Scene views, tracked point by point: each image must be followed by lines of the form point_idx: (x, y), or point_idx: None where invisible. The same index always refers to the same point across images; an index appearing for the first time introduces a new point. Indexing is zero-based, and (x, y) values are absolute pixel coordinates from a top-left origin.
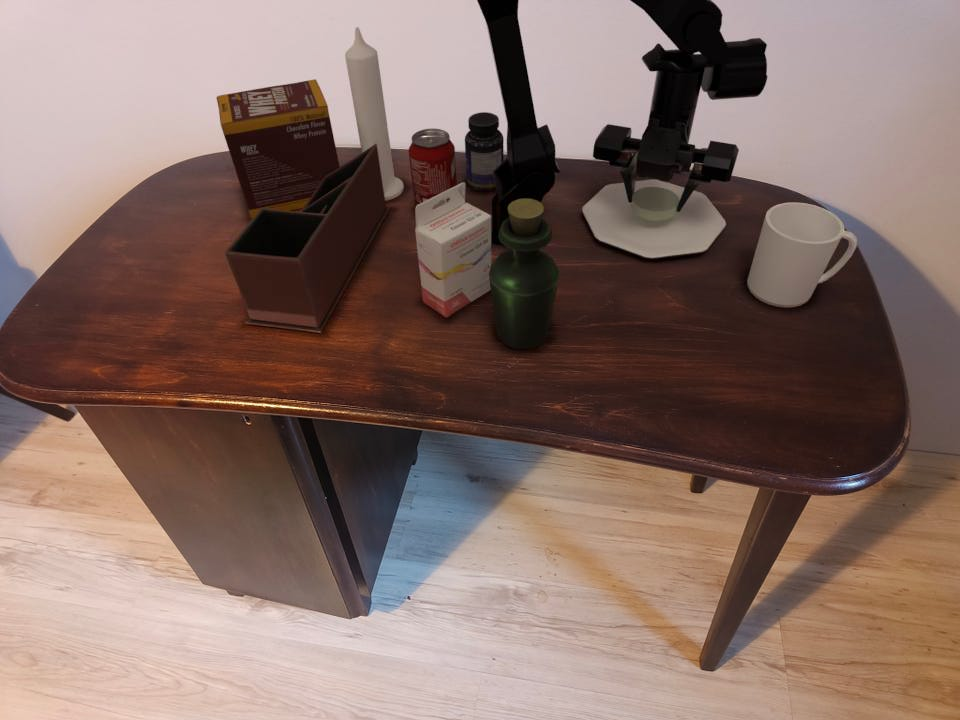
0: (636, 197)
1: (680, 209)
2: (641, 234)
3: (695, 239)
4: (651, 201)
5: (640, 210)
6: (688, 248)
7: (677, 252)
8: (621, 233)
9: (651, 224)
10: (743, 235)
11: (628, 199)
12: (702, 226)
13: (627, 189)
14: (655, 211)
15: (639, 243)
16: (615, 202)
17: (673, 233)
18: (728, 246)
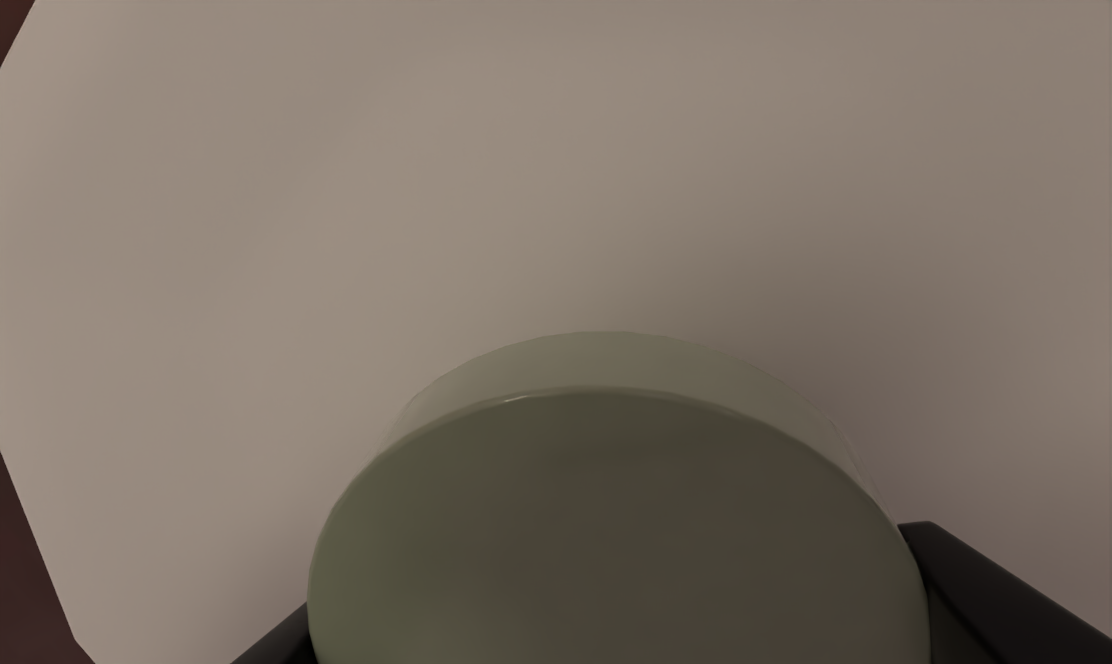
0: (855, 594)
1: (296, 614)
2: (593, 217)
3: (136, 377)
4: (624, 596)
5: (683, 374)
6: (28, 169)
7: (46, 23)
8: (795, 109)
9: None
10: (29, 611)
11: (951, 541)
12: (229, 569)
13: (1090, 656)
14: (455, 412)
15: (532, 41)
16: (1051, 568)
17: (360, 391)
18: (4, 461)
